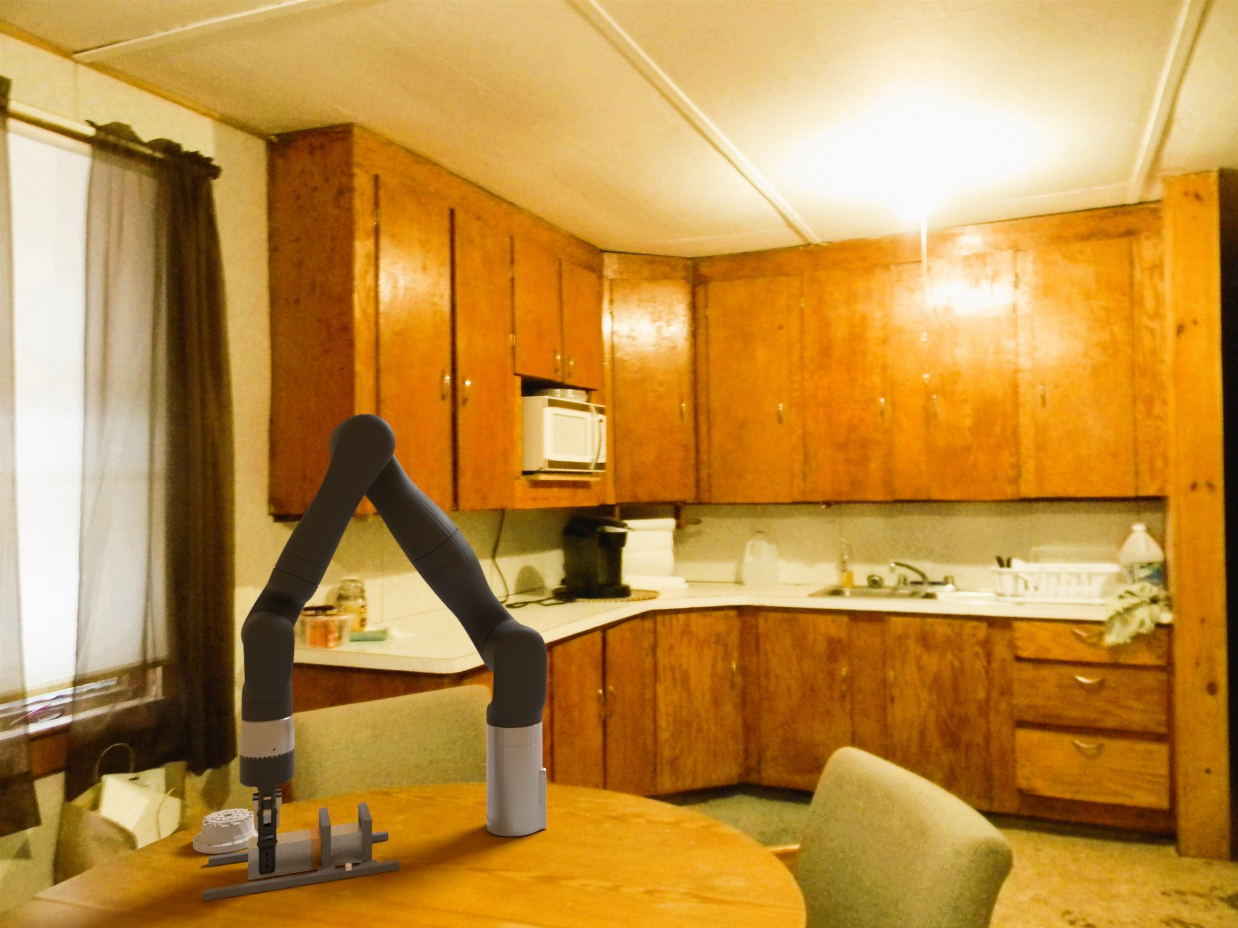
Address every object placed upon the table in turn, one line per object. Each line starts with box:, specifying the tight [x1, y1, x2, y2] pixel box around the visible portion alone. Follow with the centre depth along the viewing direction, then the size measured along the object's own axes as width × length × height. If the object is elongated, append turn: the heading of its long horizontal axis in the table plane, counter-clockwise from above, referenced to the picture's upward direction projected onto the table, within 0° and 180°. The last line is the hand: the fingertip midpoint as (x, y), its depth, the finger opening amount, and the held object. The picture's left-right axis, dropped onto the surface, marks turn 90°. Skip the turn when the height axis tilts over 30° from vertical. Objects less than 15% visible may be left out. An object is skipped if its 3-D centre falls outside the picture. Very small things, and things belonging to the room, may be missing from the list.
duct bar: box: [247, 821, 363, 881], centre depth 130 cm, size 16×4×4 cm, turn 112°
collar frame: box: [202, 801, 400, 902], centre depth 130 cm, size 26×14×7 cm, turn 112°
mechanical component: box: [192, 808, 258, 855], centre depth 140 cm, size 10×4×10 cm
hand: (267, 865), depth 128 cm, fingers closed on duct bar, 4 cm apart
